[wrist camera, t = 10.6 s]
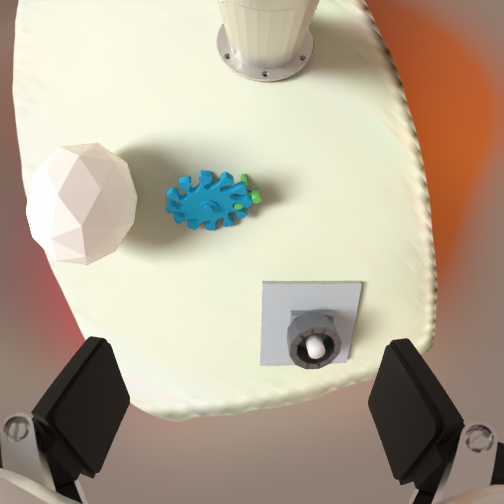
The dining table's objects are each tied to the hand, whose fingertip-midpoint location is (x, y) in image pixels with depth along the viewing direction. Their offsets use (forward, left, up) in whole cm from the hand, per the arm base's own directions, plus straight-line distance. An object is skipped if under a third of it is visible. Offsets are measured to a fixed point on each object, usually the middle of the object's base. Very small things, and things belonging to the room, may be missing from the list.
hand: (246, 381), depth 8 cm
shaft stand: (+15, +8, -29) cm, 34 cm away
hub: (+15, +8, -27) cm, 32 cm away
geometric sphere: (-4, -21, -29) cm, 36 cm away
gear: (-3, -5, -29) cm, 30 cm away
